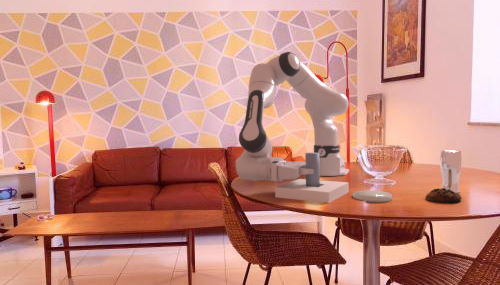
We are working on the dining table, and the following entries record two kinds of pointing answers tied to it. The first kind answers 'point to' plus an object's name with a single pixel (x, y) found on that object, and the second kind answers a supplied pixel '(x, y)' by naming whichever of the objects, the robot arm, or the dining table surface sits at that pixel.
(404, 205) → the dining table surface
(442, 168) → the white tall piece
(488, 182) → the dining table surface
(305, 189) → the pocket block
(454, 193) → the bread roll
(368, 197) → the sage trivet
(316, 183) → the slate peg
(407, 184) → the dining table surface
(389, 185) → the dining table surface
